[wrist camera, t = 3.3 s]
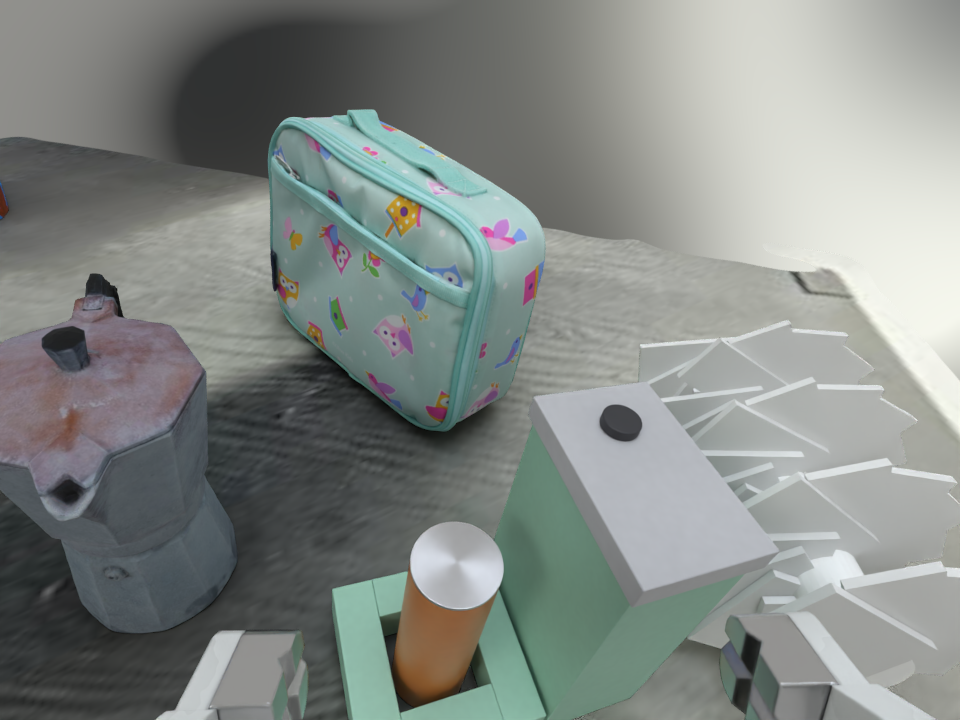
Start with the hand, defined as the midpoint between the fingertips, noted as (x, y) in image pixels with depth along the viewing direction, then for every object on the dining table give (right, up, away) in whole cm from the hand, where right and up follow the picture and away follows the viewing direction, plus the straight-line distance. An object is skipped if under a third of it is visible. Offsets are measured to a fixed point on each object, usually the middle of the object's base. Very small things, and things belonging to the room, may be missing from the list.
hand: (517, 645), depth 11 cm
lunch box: (-11, +6, +44) cm, 46 cm away
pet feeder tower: (+4, -13, +26) cm, 29 cm away
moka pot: (-21, -8, +26) cm, 34 cm away
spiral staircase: (+19, -10, +34) cm, 40 cm away
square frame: (-4, -13, +23) cm, 27 cm away
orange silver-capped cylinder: (-4, -13, +23) cm, 27 cm away
